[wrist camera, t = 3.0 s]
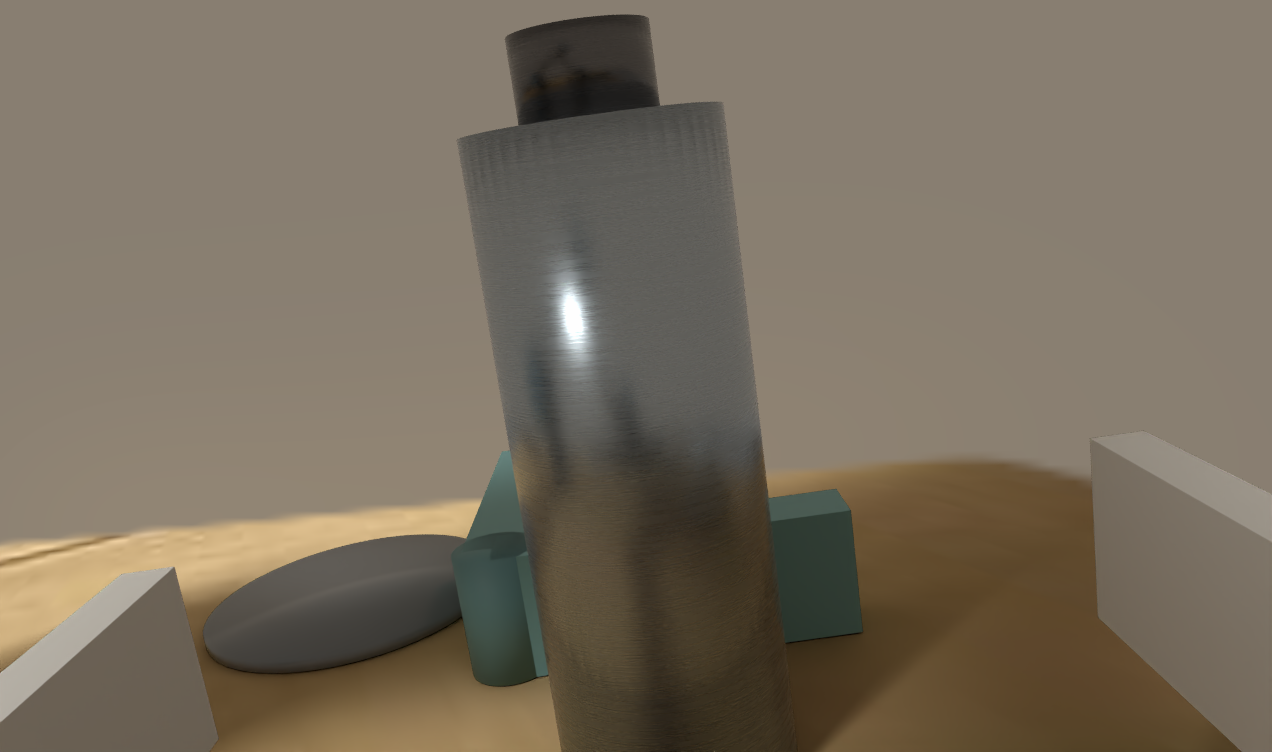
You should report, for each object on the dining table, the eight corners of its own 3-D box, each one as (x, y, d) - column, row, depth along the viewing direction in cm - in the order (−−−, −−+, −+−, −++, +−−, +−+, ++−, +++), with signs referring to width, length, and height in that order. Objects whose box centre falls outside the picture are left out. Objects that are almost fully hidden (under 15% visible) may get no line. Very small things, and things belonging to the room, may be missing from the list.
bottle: (559, 848, 22) (415, 29, 19) (571, 706, 28) (463, 63, 24) (818, 813, 22) (726, -15, 18) (776, 679, 28) (700, 30, 24)
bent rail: (467, 691, 30) (443, 570, 29) (510, 540, 42) (495, 452, 41) (865, 636, 30) (853, 513, 29) (793, 501, 42) (783, 412, 41)
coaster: (151, 692, 33) (148, 681, 33) (266, 562, 43) (264, 554, 43) (474, 647, 33) (472, 637, 33) (509, 528, 43) (508, 520, 43)
